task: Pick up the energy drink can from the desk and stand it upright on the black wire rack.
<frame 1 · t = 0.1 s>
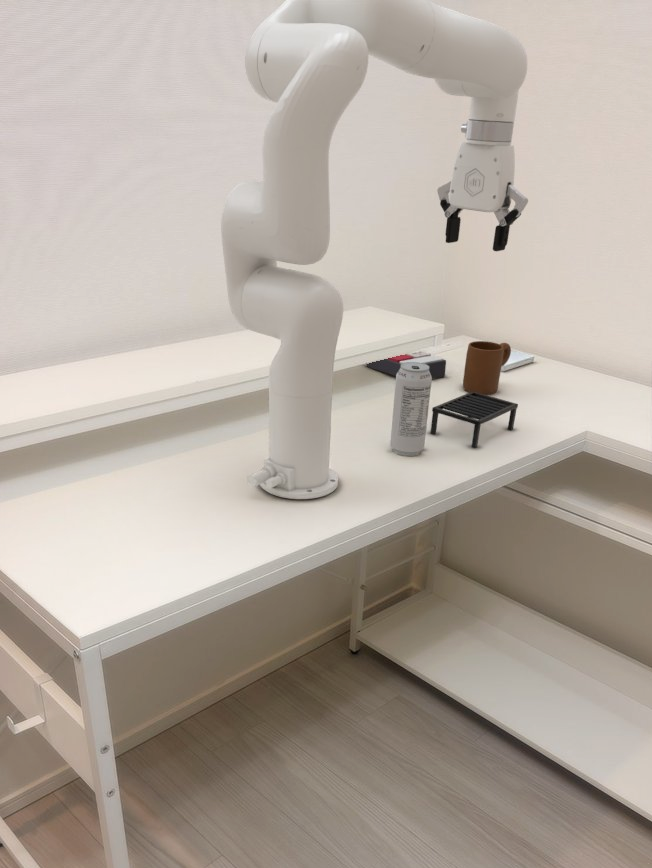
hand: (474, 246, 141), 31 cm above the table, tool pointing down, fingers open, 9 cm apart
energy drink can: (406, 451, 142), on the table
calculator: (404, 372, 182), on the table
hard drive: (504, 363, 191), on the table
mug: (486, 388, 174), on the table
rack: (472, 431, 152), on the table
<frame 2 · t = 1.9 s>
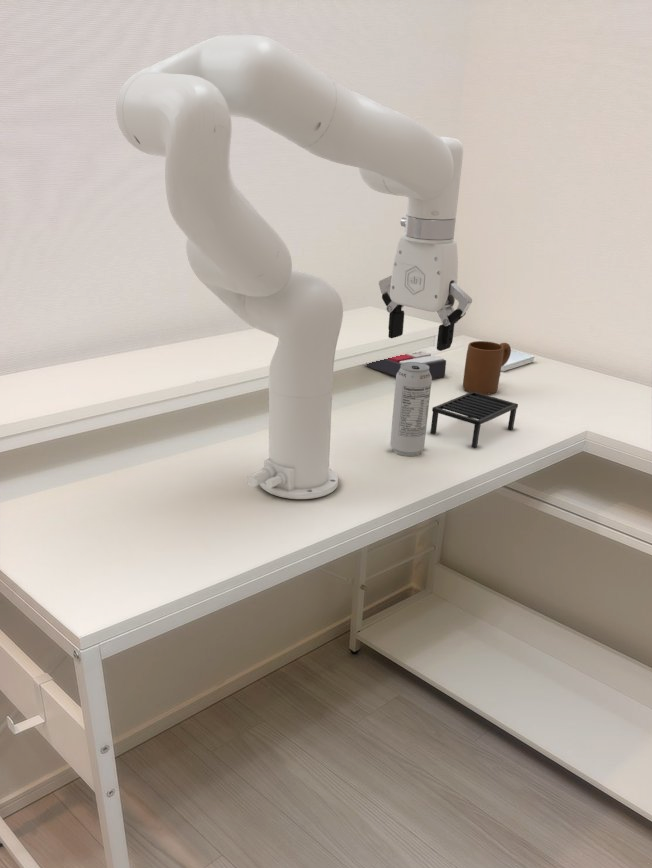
hand: (419, 342, 132), 19 cm above the table, tool pointing down, fingers open, 9 cm apart
nothing on the table moved.
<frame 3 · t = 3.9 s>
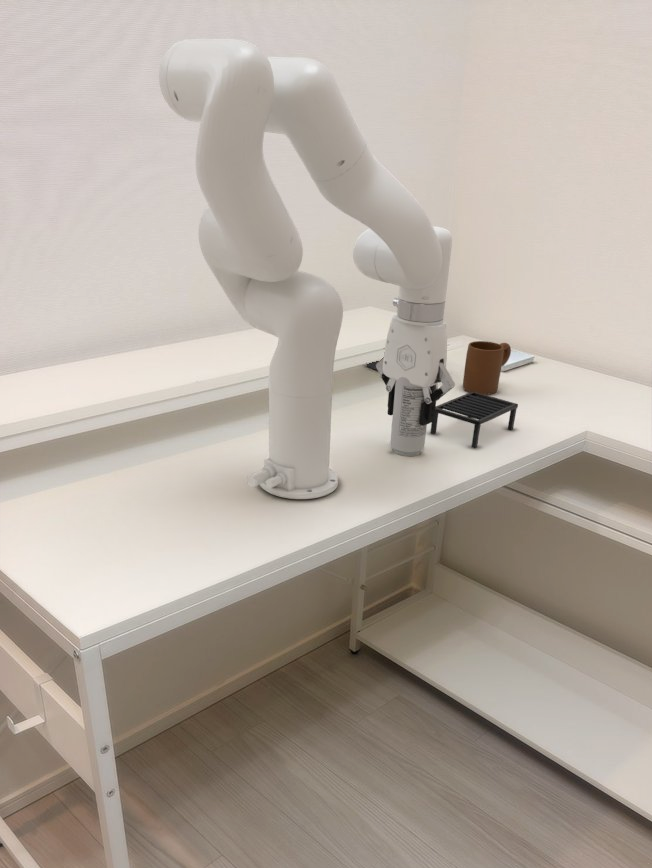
hand: (410, 417, 139), 6 cm above the table, tool pointing down, fingers closed on energy drink can, 6 cm apart
energy drink can: (406, 451, 142), on the table, touching gripper
everything else where it was.
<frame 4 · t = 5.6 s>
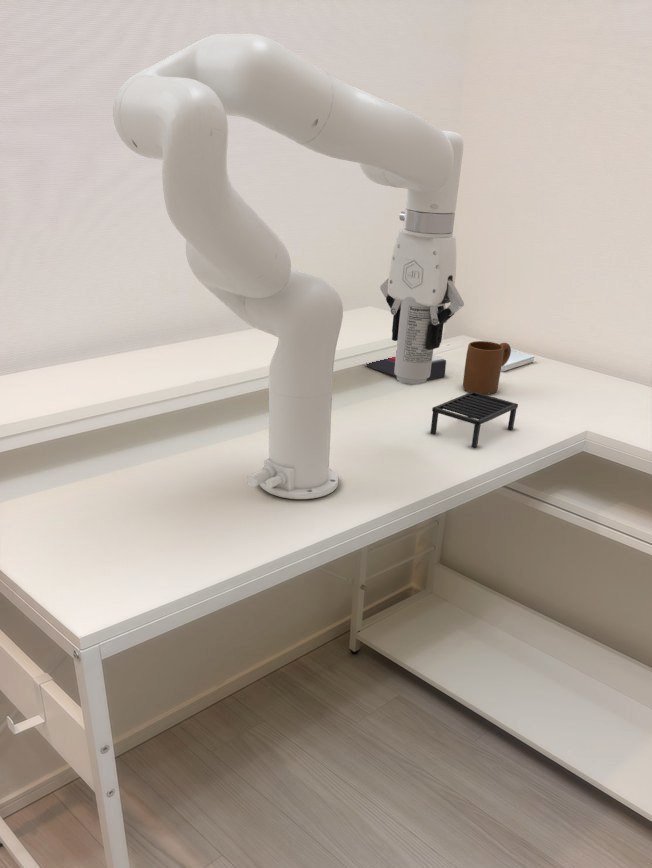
hand: (415, 342, 131), 19 cm above the table, tool pointing down, fingers closed on energy drink can, 6 cm apart
energy drink can: (411, 381, 135), point 13 cm above the table, touching gripper
everything else where it was.
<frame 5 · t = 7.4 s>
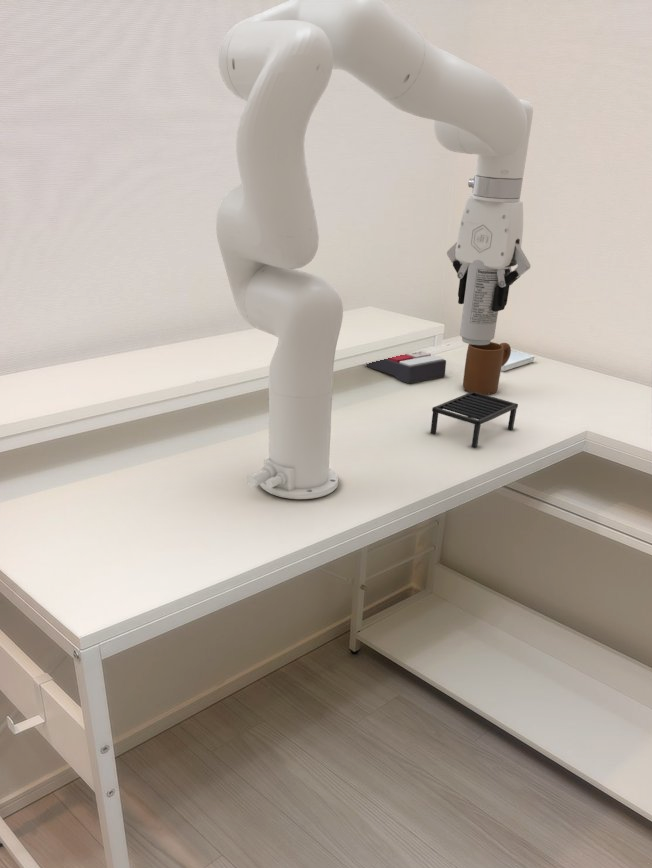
hand: (481, 305, 138), 23 cm above the table, tool pointing down, fingers closed on energy drink can, 6 cm apart
energy drink can: (475, 342, 141), point 17 cm above the table, touching gripper
everything else where it was.
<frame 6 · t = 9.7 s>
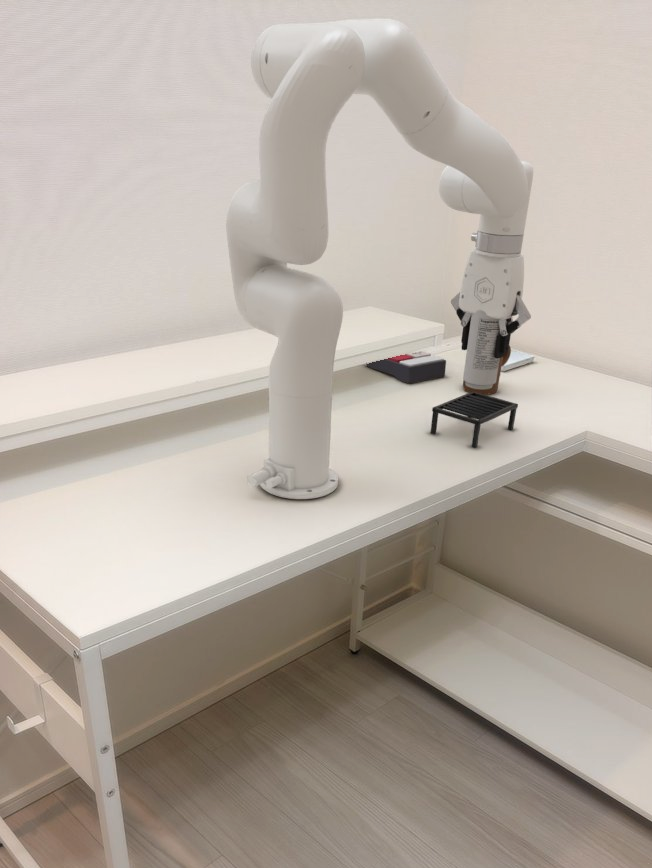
hand: (483, 351, 143), 15 cm above the table, tool pointing down, fingers closed on energy drink can, 6 cm apart
energy drink can: (478, 386, 147), point 9 cm above the table, touching gripper
everything else where it was.
when the fingers open (11 cm above the table, at t = 11.3 s): energy drink can stays where it is, resting on rack.
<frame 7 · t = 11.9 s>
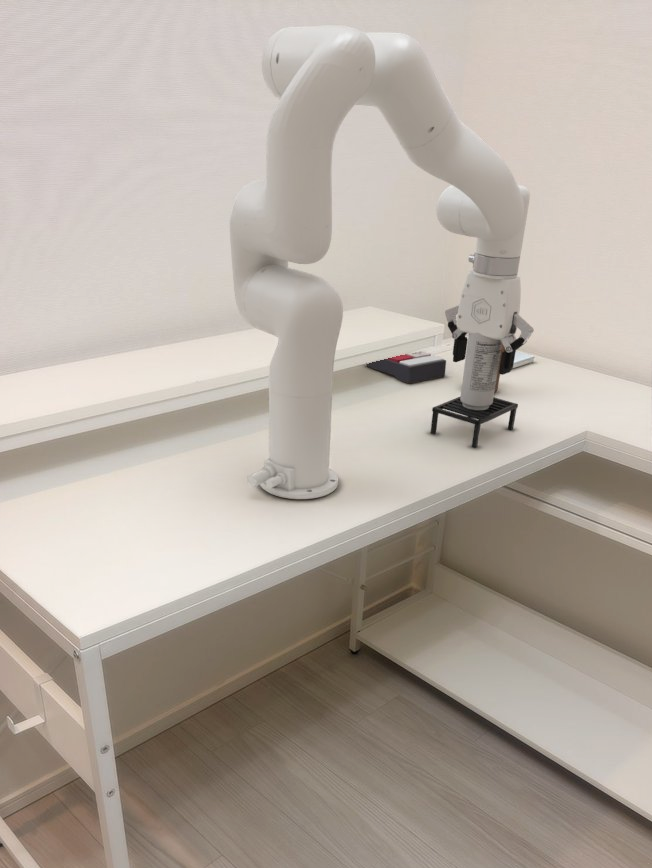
hand: (481, 366, 145), 12 cm above the table, tool pointing down, fingers open, 9 cm apart
energy drink can: (475, 406, 149), point 5 cm above the table, touching rack
everything else where it was.
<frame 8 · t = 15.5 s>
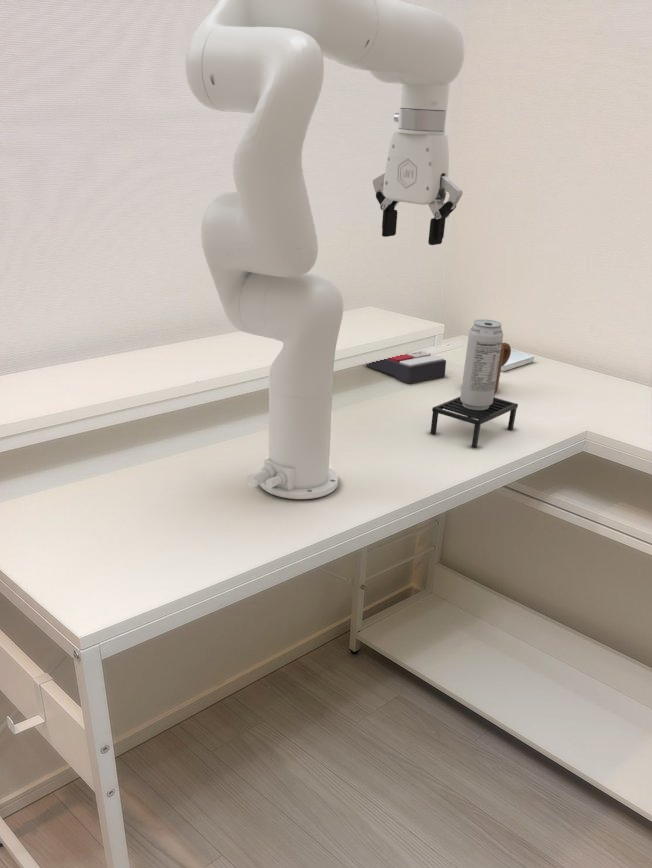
hand: (411, 240, 136), 32 cm above the table, tool pointing down, fingers open, 9 cm apart
nothing on the table moved.
at the end: energy drink can inside the target area on the rack (0.1 cm from its centre), point 4.8 cm above the rack's base; energy drink can tilted 0°; the gripper is holding nothing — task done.
